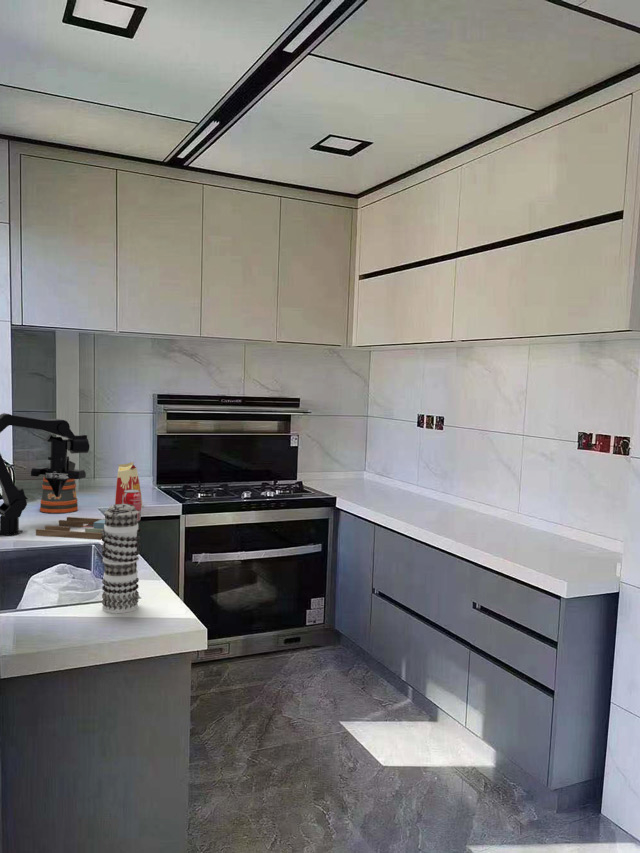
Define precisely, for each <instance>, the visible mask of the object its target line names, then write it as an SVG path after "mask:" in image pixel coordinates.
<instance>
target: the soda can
mask: <svg viewBox="0 0 640 853" xmlns="http://www.w3.org/2000/svg"><path fill="white" fill-rule="evenodd" d="M141 496H142V493H141V494H140V492H139V490H125V491H124V494H123V496H122V504H130V505H133V506H134V507H135V508H136V510H138V511H139V513H138V514H137V517H138V520H137V523H138V522H140V521H141V517H142V508H141Z"/></svg>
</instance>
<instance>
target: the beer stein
mask: <svg viewBox="0 0 640 853" xmlns="http://www.w3.org/2000/svg"><path fill="white" fill-rule="evenodd" d="M45 478H46V475H43V479H42V486H41V487H42V488H41V489H42V494H41V499H40V504H39V505H40V507H39V511H40V512H41V513H45V514H56V515H57V514H67V513H74V512H77V511H78V510H79V506H78V504H79V503H78V498H77V491H76V490H77V489H76V487H77V485H76V479H68V480H67V481H66V482H65V484H64V486H63V489H62V491H61V494H60V496H59V497H56V496H55V494H54V492H53V489H52V487H51V485H50V484H49V482H48V480H46V479H45Z"/></svg>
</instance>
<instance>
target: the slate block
mask: <svg viewBox="0 0 640 853" xmlns="http://www.w3.org/2000/svg"><path fill="white" fill-rule="evenodd" d="M100 519H101V520H99V521H96V522H94V523H93V527H92V528H95V529H103V528H104V524H105V518H100Z"/></svg>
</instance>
